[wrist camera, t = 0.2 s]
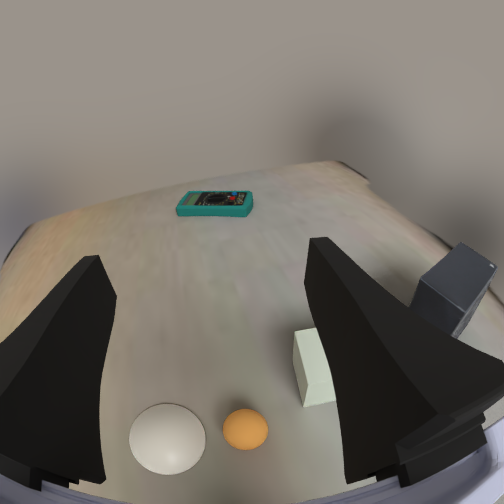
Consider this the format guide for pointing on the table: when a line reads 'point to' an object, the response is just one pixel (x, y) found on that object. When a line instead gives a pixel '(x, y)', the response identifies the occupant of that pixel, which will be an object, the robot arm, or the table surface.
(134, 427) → the white round disc
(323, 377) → the pale green block
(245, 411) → the ball
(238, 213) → the digital multimeter
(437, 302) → the small box
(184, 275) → the table surface
